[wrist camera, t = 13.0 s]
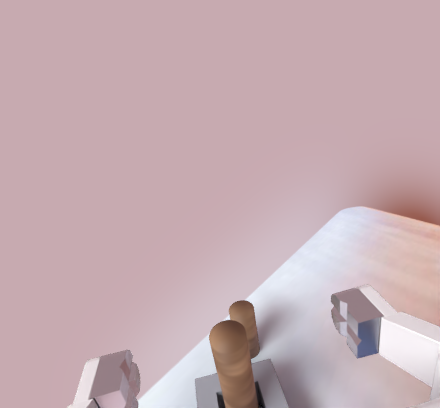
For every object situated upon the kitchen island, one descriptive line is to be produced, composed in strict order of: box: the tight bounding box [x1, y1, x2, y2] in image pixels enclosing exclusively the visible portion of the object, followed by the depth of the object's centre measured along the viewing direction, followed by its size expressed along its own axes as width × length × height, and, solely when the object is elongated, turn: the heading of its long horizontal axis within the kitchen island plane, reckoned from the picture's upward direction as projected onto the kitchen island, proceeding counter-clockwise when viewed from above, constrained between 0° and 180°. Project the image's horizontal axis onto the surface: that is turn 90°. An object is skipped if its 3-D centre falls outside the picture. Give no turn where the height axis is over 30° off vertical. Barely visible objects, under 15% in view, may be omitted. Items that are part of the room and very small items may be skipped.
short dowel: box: [229, 301, 260, 359], centre depth 42 cm, size 4×4×8 cm
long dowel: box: [209, 320, 259, 408], centre depth 30 cm, size 4×4×16 cm
